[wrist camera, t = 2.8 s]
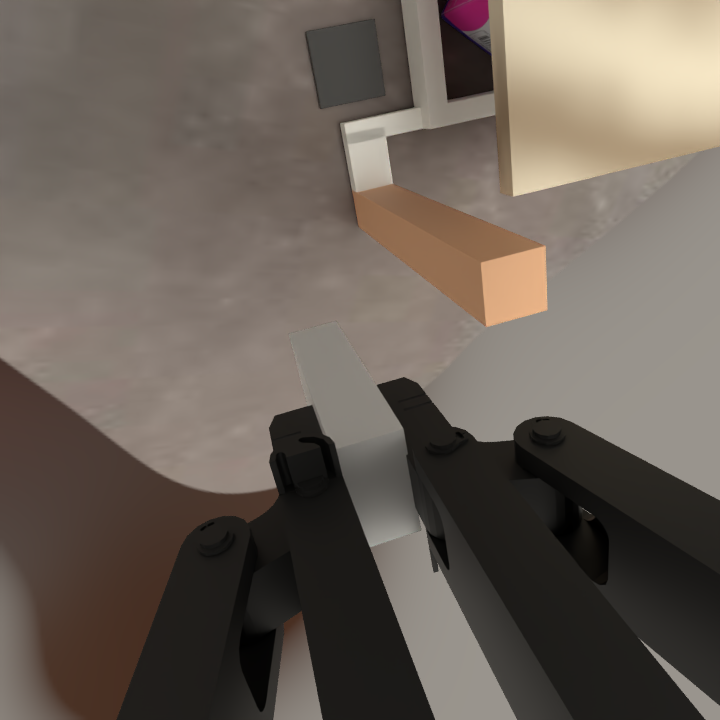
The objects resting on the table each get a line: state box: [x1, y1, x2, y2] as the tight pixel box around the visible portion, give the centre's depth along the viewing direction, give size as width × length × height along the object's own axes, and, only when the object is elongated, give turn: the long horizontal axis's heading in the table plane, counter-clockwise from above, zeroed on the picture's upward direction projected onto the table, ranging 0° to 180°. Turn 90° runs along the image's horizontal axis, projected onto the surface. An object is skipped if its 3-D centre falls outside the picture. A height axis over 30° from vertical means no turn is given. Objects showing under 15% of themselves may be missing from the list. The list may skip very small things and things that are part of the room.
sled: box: [340, 0, 547, 327], centre depth 25 cm, size 18×17×19 cm
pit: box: [305, 19, 385, 109], centre depth 32 cm, size 4×4×1 cm
